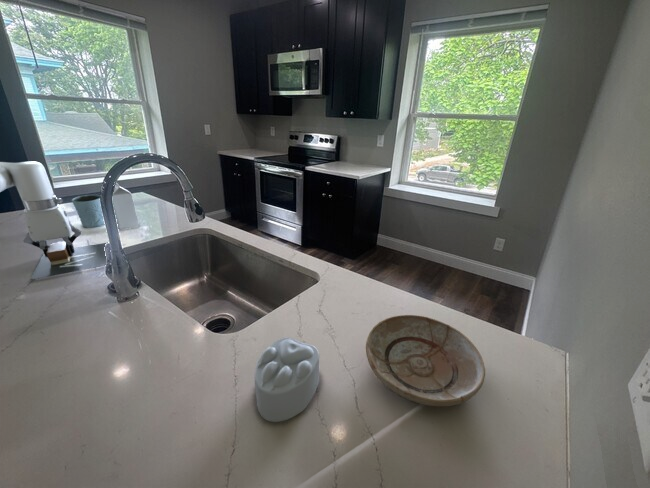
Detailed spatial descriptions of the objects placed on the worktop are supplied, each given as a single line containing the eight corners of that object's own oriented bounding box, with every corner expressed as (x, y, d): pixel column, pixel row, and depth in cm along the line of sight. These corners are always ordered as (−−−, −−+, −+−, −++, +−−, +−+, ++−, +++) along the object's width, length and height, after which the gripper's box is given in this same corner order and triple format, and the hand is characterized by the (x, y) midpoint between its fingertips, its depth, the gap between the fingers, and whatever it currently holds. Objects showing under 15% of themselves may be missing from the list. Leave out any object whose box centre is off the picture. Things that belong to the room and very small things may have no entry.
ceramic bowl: (360, 328, 74) (361, 311, 72) (454, 332, 74) (459, 316, 72) (369, 415, 53) (372, 396, 51) (501, 422, 53) (510, 403, 51)
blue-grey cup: (103, 218, 135) (96, 193, 130) (113, 224, 130) (105, 197, 125) (76, 225, 128) (67, 198, 123) (86, 231, 122) (76, 203, 117)
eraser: (69, 262, 97) (64, 249, 95) (51, 265, 95) (46, 252, 93) (72, 252, 103) (68, 240, 101) (55, 255, 101) (50, 243, 99)
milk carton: (135, 222, 132) (124, 180, 124) (140, 227, 128) (129, 183, 120) (116, 226, 128) (104, 182, 120) (120, 231, 123) (108, 186, 115)
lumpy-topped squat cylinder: (324, 376, 61) (326, 344, 57) (292, 433, 50) (291, 398, 46) (281, 358, 64) (279, 327, 61) (242, 408, 54) (238, 374, 50)
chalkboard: (31, 283, 87) (30, 280, 87) (44, 255, 103) (43, 252, 102) (112, 266, 97) (111, 264, 97) (113, 244, 112) (113, 241, 112)
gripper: (77, 197, 98) (93, 247, 106) (6, 204, 90) (30, 257, 97) (74, 203, 92) (92, 255, 100) (-1, 211, 84) (24, 267, 92)
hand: (61, 256), depth 99 cm, fingers closed on eraser, 4 cm apart
